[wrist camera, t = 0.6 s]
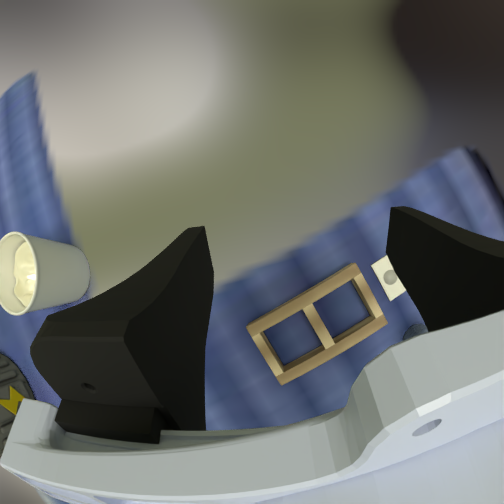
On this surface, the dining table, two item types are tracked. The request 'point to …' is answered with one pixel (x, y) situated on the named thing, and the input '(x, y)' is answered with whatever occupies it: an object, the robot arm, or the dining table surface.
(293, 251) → the dining table surface
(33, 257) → the candle holder
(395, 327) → the dining table surface
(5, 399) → the decorative lamp
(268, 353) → the tan frame
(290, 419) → the dining table surface
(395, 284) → the key card
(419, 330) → the pin
